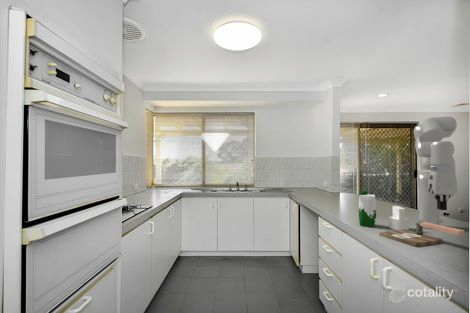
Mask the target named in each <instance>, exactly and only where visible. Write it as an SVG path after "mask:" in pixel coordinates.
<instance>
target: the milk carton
mask: <svg viewBox="0 0 470 313" xmlns="http://www.w3.org/2000/svg"><path fill="white" fill-rule="evenodd" d="M358 193H359V194H358V219H359V226H361V227H367V228H375V225H376V224H375V223H376V220H377V200H376V194H371V193H370V194H368V191H367V190H359V192H358Z"/></svg>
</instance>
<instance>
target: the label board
mask: <svg viewBox="0 0 470 313" xmlns="http://www.w3.org/2000/svg"><path fill="white" fill-rule="evenodd" d="M423 229H424V227H422V226H419V225H416V231H412V230H405V229H403V230H389V231H386V230H385V231H379V234H378V235H379V236H381V237H384V238H388V239H390V240H393V241H396V242H399V243H402V244H404V245H405V244H406V245H409V246H412V247H414V248H417V247H423V246H424V247H425V246H430V245H437V244H443V243H444V241H443V239H442V238H440V237H439V238H438V237H435V236H432V235H428V234H424V233H423Z"/></svg>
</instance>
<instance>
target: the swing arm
mask: <svg viewBox="0 0 470 313" xmlns="http://www.w3.org/2000/svg"><path fill="white" fill-rule="evenodd" d="M415 225H416V226H417V225H419V226H423V228H424V227H427V228H426V229H430V228H431V229H432V230H436V231H440V232H444V233H448V234H452V235H456V236H461V235H465V233H466V232H465V230H464V229H459V228H455V227H451V226H445V225H443V226H442V224H440V225H437V224H433V223H428V222H423V221H419V220H415Z"/></svg>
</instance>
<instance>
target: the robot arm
mask: <svg viewBox="0 0 470 313" xmlns="http://www.w3.org/2000/svg"><path fill="white" fill-rule="evenodd" d="M457 127H458V123H457V119H455V117H453V116H436V117H429V118H426V119H424V120H423V121H422V123H421V124H418V125H416V126H414V128H413V137H414V139H415V142H414V143H415V144H414V147H415V152H416V155H417V156H418V157H419V158H418V159H419V167H420V169H422V170H425V171H426V172H420V173H418V174H417V177H416V182H417V187H418V211H419V212H418V214H419V215H418V218H419V220H418V221H423V222H428V223H433V224H437V225H442V224H443V223H444V222H445V220H444V219H443V218H441V211H447V209H448V206H447V205H448V201H449V199H450V198H453V197H455V195H457V193H458V181H457V180H458V179H457V174H456V172H457V171H456V162H455V158H454V156H453V154H454V153H455V145H454V144H453V142H452V141H449V140H443V139H446V138H447V139H448V138H450V137H452V136H453V134H454V133H455V131H456V130H457ZM441 223H442V224H441ZM442 226H444V224H443V225H442ZM422 227H423V226H422ZM424 228H426V229H428V228H427V227H423V229H424ZM429 229H431V228H429Z"/></svg>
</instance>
